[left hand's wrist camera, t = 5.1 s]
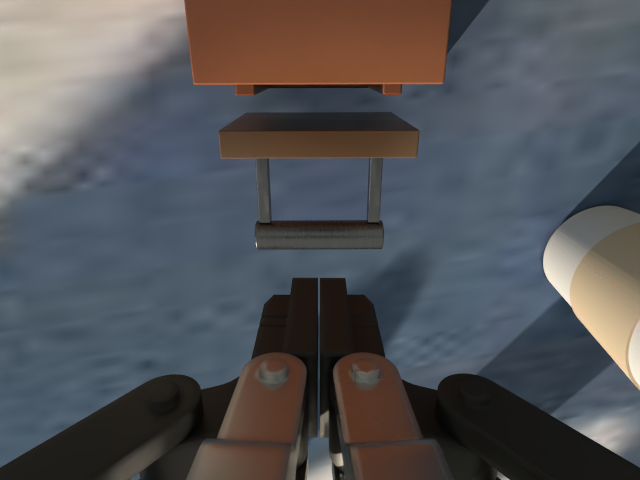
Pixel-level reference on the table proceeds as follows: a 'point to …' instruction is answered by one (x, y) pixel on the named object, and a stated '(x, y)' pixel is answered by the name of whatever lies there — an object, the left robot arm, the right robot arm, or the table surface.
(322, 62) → the cabinet
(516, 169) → the table surface
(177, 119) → the table surface
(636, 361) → the coffee cup
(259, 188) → the drawer
